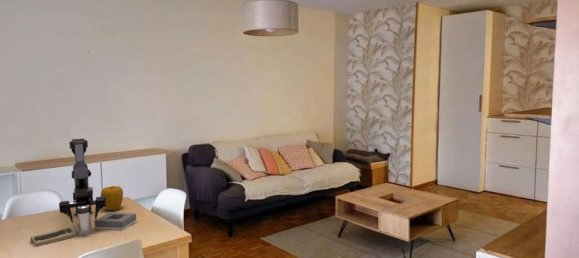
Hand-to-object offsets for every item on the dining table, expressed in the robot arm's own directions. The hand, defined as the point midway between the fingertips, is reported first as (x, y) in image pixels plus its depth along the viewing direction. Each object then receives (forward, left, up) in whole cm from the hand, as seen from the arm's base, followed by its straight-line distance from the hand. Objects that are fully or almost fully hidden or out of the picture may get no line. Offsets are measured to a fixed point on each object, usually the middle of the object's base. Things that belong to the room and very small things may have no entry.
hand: (84, 221), depth 181 cm
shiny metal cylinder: (-1, +1, -7) cm, 7 cm away
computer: (-11, -6, -7) cm, 14 cm away
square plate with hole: (+6, +14, -7) cm, 17 cm away
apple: (-10, +37, -7) cm, 39 cm away
